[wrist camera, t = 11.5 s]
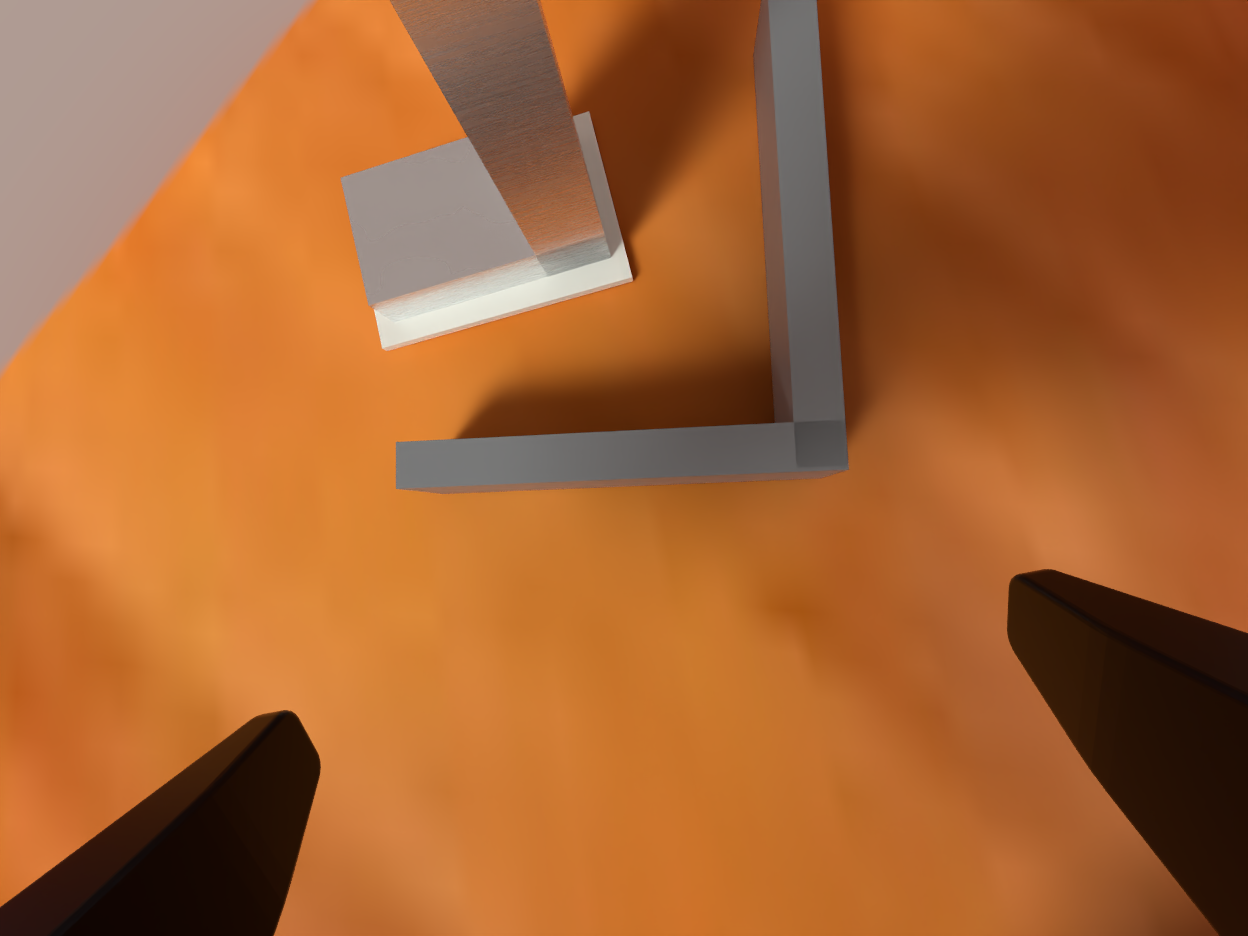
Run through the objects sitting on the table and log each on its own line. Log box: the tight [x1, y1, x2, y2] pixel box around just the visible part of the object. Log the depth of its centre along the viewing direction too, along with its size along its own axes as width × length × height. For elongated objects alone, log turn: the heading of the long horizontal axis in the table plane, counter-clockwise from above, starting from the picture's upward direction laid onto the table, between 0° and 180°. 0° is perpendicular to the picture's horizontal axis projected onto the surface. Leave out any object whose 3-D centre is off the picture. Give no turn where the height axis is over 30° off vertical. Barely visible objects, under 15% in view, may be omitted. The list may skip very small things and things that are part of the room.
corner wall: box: [396, 0, 849, 494], centre depth 17 cm, size 11×13×3 cm
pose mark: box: [374, 111, 633, 351], centre depth 19 cm, size 8×6×1 cm
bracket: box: [341, 0, 611, 322], centre depth 12 cm, size 7×4×13 cm, turn 104°
